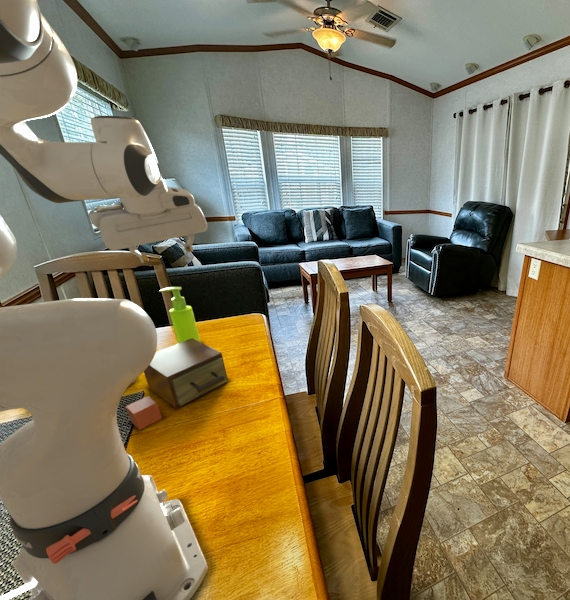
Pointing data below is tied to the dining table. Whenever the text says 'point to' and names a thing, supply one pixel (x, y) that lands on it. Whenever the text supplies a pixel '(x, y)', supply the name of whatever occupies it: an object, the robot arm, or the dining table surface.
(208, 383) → the drawer
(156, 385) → the cabinet
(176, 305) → the soap dispenser
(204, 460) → the dining table surface
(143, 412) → the block
